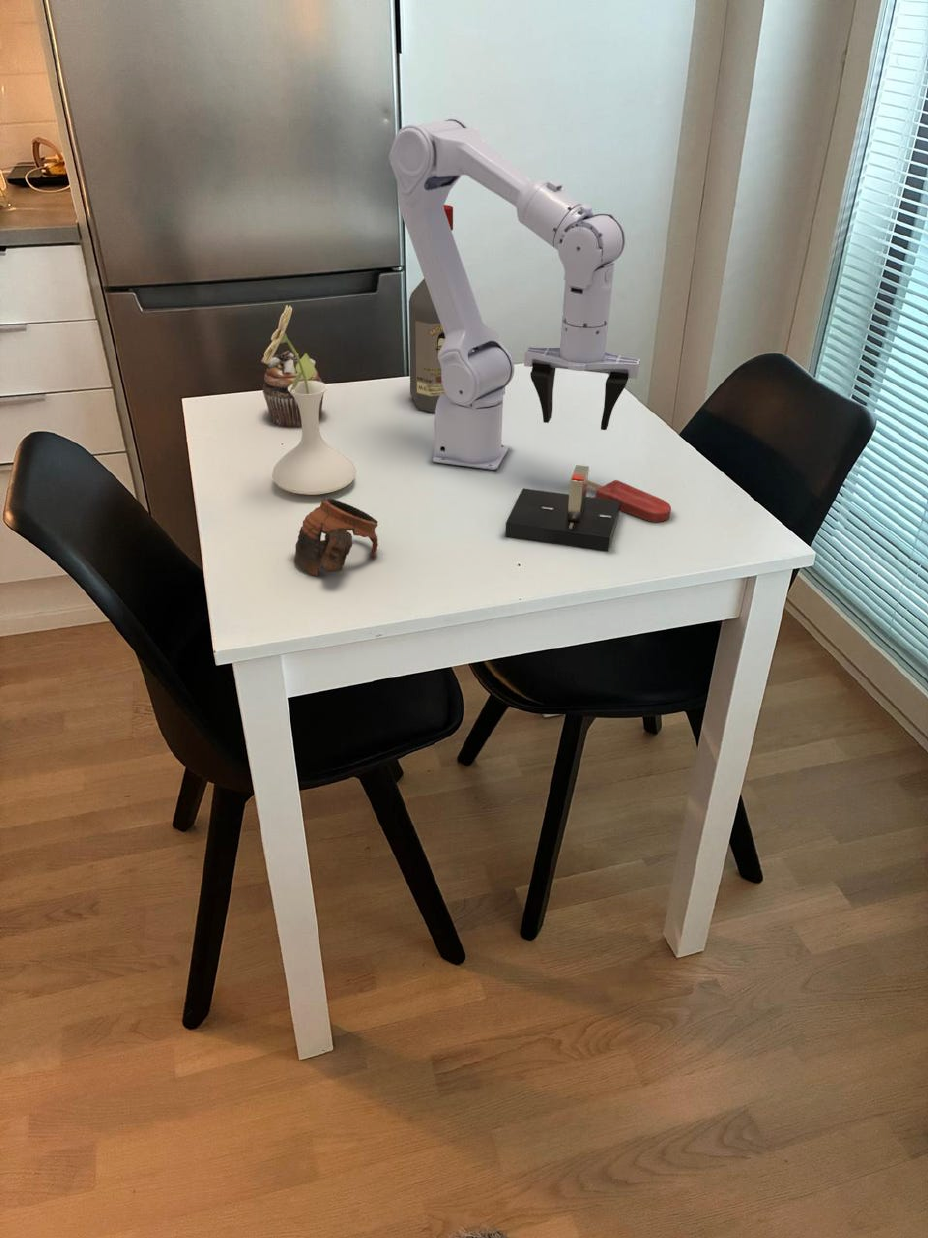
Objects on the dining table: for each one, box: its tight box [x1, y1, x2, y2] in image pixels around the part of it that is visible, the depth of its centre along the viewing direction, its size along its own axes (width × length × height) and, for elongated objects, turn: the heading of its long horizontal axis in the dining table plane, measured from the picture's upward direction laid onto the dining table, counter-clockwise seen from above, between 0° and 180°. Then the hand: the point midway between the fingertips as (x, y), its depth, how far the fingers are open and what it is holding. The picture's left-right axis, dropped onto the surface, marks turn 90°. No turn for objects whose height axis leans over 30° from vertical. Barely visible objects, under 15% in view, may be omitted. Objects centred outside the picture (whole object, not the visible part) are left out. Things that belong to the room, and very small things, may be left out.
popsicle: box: [587, 479, 672, 523], centre depth 127 cm, size 4×2×15 cm
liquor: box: [408, 204, 474, 414], centre depth 148 cm, size 9×9×30 cm
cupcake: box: [261, 349, 324, 428], centre depth 147 cm, size 10×10×10 cm
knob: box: [567, 464, 590, 521], centre depth 119 cm, size 5×2×6 cm, turn 165°
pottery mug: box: [293, 497, 379, 577], centre depth 112 cm, size 12×9×8 cm
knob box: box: [504, 487, 620, 552], centre depth 121 cm, size 13×10×2 cm
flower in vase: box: [261, 304, 357, 496], centre depth 123 cm, size 13×11×25 cm
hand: (575, 423), depth 126 cm, fingers open, 7 cm apart
